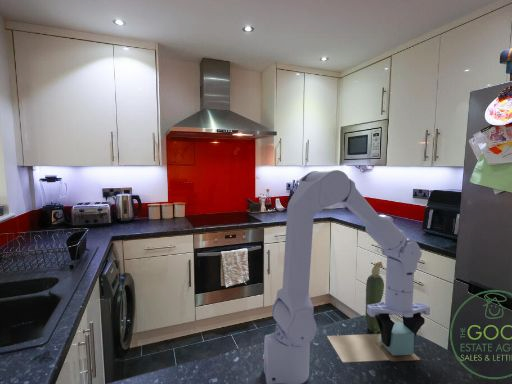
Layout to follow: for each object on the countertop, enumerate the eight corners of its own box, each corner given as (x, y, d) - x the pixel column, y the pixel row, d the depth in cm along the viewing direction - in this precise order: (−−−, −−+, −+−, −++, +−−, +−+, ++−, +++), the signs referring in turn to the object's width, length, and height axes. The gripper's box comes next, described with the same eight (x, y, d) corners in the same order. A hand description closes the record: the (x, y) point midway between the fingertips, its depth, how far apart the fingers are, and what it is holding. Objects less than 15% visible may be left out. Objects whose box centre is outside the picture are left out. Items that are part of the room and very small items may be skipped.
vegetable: (361, 330, 74) (363, 259, 73) (371, 327, 76) (374, 257, 75) (374, 339, 70) (377, 263, 69) (385, 335, 72) (388, 261, 71)
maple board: (343, 369, 59) (343, 363, 59) (326, 340, 69) (326, 335, 69) (420, 365, 61) (420, 359, 61) (392, 337, 71) (392, 332, 71)
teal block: (392, 355, 61) (393, 334, 61) (380, 342, 66) (381, 322, 66) (413, 354, 62) (414, 333, 61) (399, 341, 67) (400, 321, 66)
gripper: (379, 295, 58) (376, 356, 59) (441, 294, 60) (438, 353, 60) (363, 283, 65) (361, 337, 66) (419, 281, 67) (416, 335, 67)
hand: (396, 343), depth 64 cm, fingers closed on teal block, 5 cm apart
